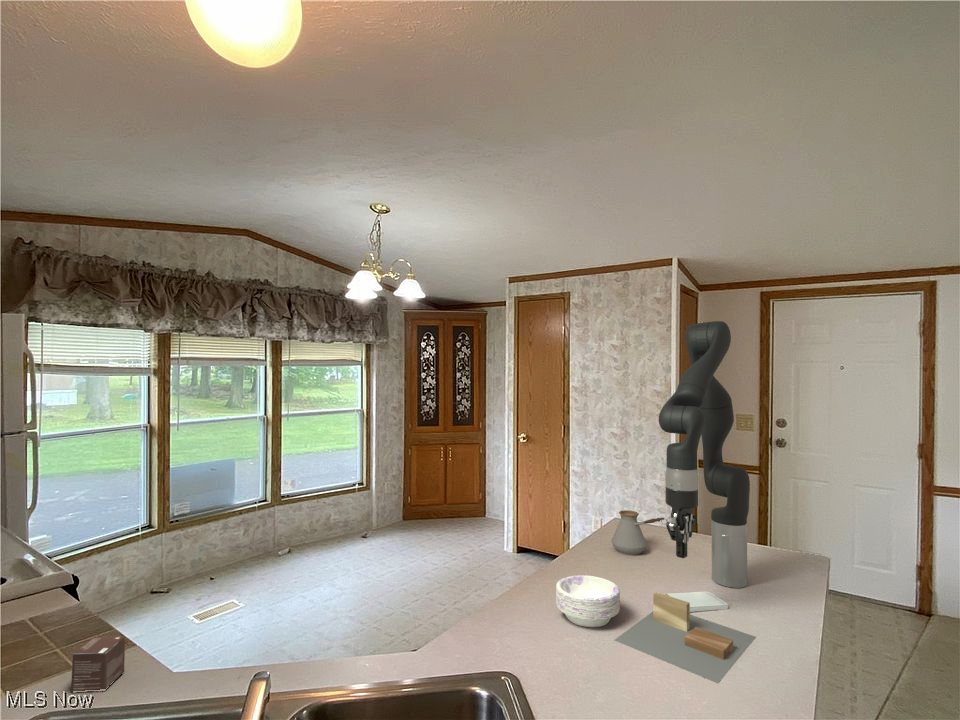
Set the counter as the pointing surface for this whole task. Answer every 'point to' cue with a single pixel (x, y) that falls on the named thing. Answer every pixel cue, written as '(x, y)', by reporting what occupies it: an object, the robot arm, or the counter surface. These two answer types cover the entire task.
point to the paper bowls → (588, 600)
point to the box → (98, 663)
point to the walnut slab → (709, 643)
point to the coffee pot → (630, 533)
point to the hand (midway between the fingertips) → (681, 556)
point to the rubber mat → (673, 650)
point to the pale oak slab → (671, 611)
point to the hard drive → (701, 601)
